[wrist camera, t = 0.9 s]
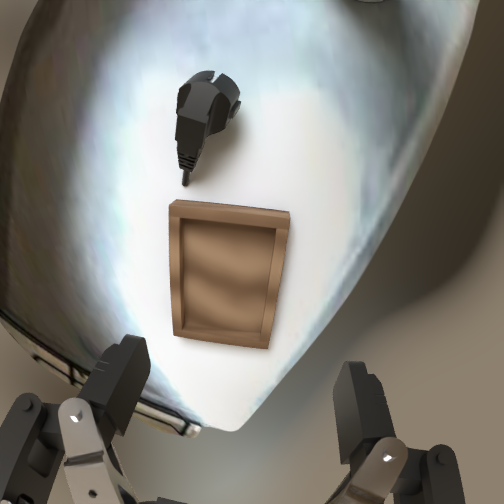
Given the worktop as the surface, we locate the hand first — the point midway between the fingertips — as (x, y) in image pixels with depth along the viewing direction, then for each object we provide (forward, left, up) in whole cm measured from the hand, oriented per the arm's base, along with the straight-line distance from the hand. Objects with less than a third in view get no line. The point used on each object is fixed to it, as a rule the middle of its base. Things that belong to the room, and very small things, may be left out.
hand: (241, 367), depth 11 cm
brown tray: (+9, -3, -22) cm, 24 cm away
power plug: (-8, -7, -22) cm, 25 cm away
